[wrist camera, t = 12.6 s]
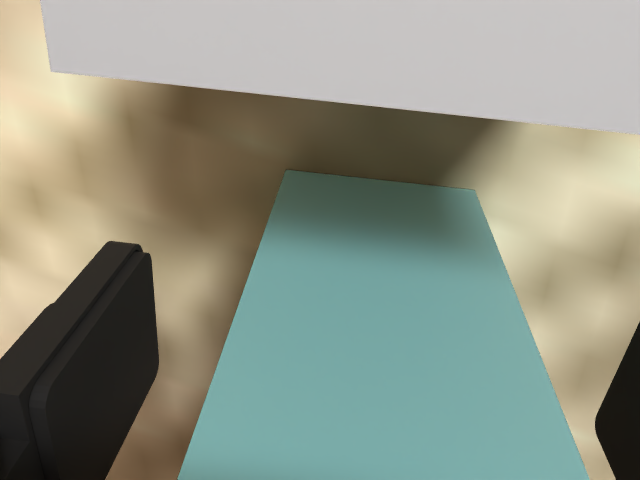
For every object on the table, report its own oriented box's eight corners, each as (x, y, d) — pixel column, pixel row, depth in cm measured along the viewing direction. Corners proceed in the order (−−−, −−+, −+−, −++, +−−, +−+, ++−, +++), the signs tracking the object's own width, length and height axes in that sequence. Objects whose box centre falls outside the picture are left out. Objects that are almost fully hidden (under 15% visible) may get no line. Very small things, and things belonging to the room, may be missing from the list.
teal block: (460, 248, 15) (575, 660, 7) (282, 228, 16) (171, 607, 7) (474, 190, 15) (628, 578, 6) (285, 169, 15) (163, 518, 6)
